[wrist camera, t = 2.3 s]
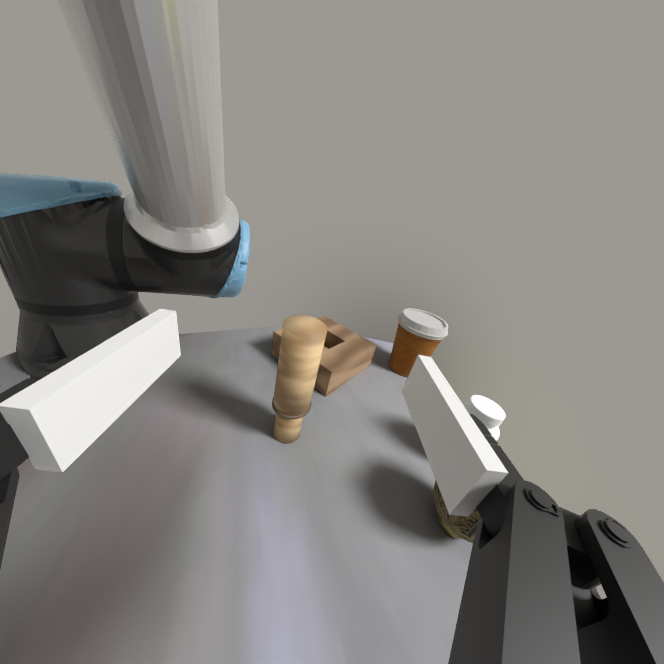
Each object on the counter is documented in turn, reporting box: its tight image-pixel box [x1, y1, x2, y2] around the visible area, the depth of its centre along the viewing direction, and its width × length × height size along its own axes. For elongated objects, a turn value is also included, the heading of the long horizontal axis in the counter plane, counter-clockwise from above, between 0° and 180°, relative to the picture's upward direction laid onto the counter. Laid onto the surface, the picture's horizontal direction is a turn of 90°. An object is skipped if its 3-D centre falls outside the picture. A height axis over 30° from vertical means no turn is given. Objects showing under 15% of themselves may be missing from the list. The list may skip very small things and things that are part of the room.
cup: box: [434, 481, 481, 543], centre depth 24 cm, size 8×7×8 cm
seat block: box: [271, 316, 377, 396], centre depth 45 cm, size 14×14×5 cm
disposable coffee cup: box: [389, 308, 448, 377], centre depth 48 cm, size 10×10×12 cm
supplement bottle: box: [463, 395, 506, 441], centre depth 31 cm, size 5×5×10 cm
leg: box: [272, 315, 327, 443], centre depth 27 cm, size 5×5×16 cm
